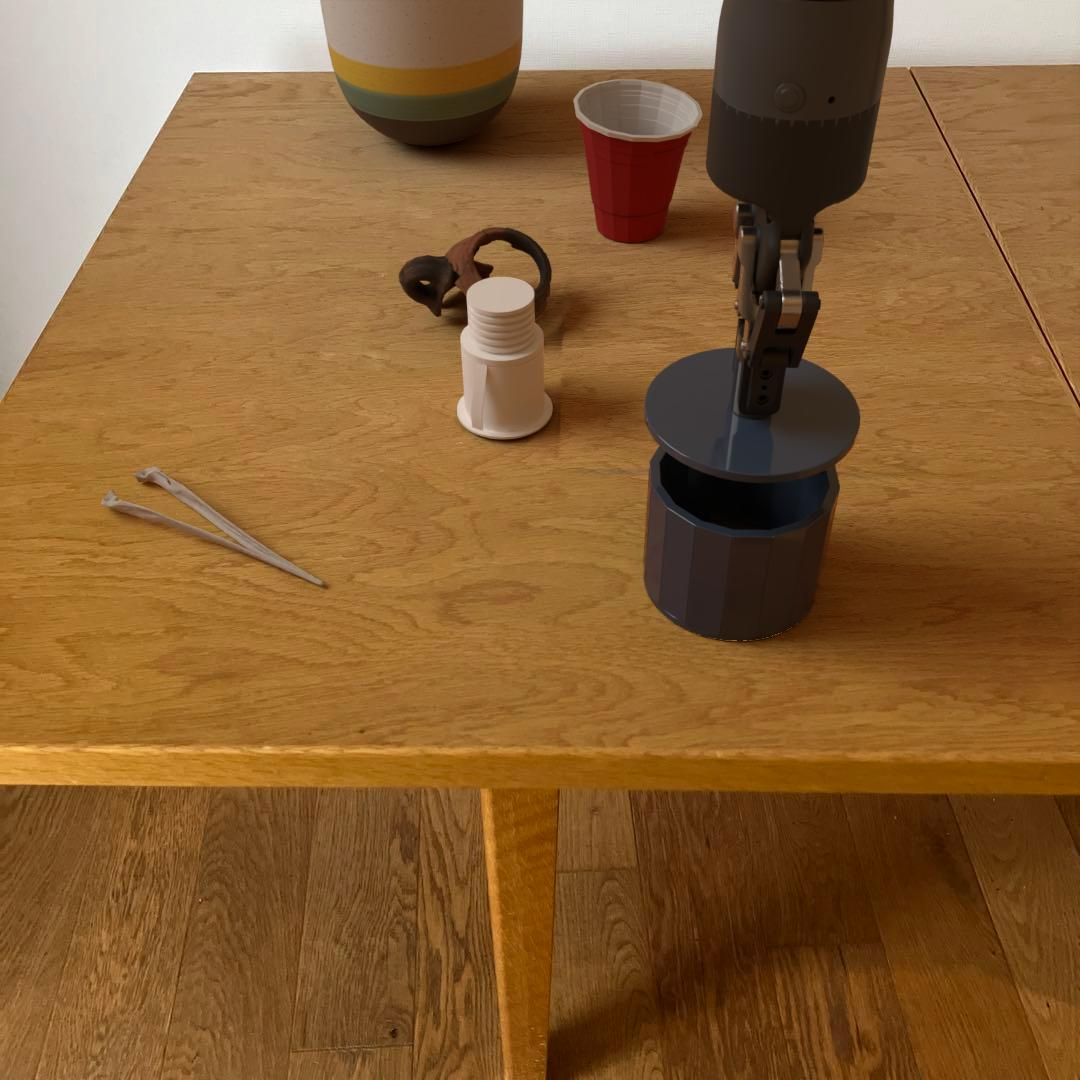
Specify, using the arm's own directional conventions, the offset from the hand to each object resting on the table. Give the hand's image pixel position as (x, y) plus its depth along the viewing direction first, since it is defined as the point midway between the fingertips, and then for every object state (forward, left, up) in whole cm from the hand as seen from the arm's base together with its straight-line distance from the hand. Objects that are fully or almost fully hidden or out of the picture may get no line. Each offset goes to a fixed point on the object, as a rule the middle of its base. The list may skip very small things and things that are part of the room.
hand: (754, 392), depth 65 cm
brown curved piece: (+18, -30, -14) cm, 38 cm away
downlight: (+15, -17, -14) cm, 27 cm away
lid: (0, 0, -1) cm, 1 cm away
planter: (+25, -65, -14) cm, 71 cm away
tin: (0, 0, -14) cm, 14 cm away
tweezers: (+33, -3, -14) cm, 36 cm away
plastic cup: (+5, -44, -14) cm, 47 cm away
